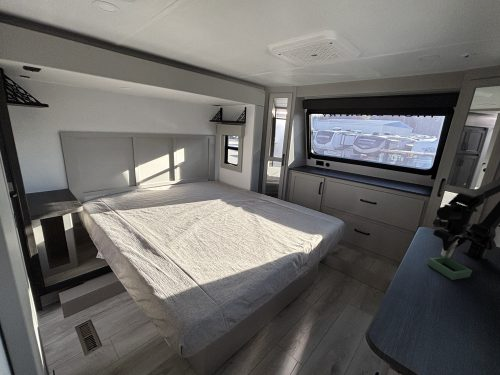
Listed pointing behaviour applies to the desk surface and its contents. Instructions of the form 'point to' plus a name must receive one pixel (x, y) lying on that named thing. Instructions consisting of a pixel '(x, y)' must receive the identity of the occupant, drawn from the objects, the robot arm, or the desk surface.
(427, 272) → the desk surface
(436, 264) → the green square frame
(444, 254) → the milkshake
